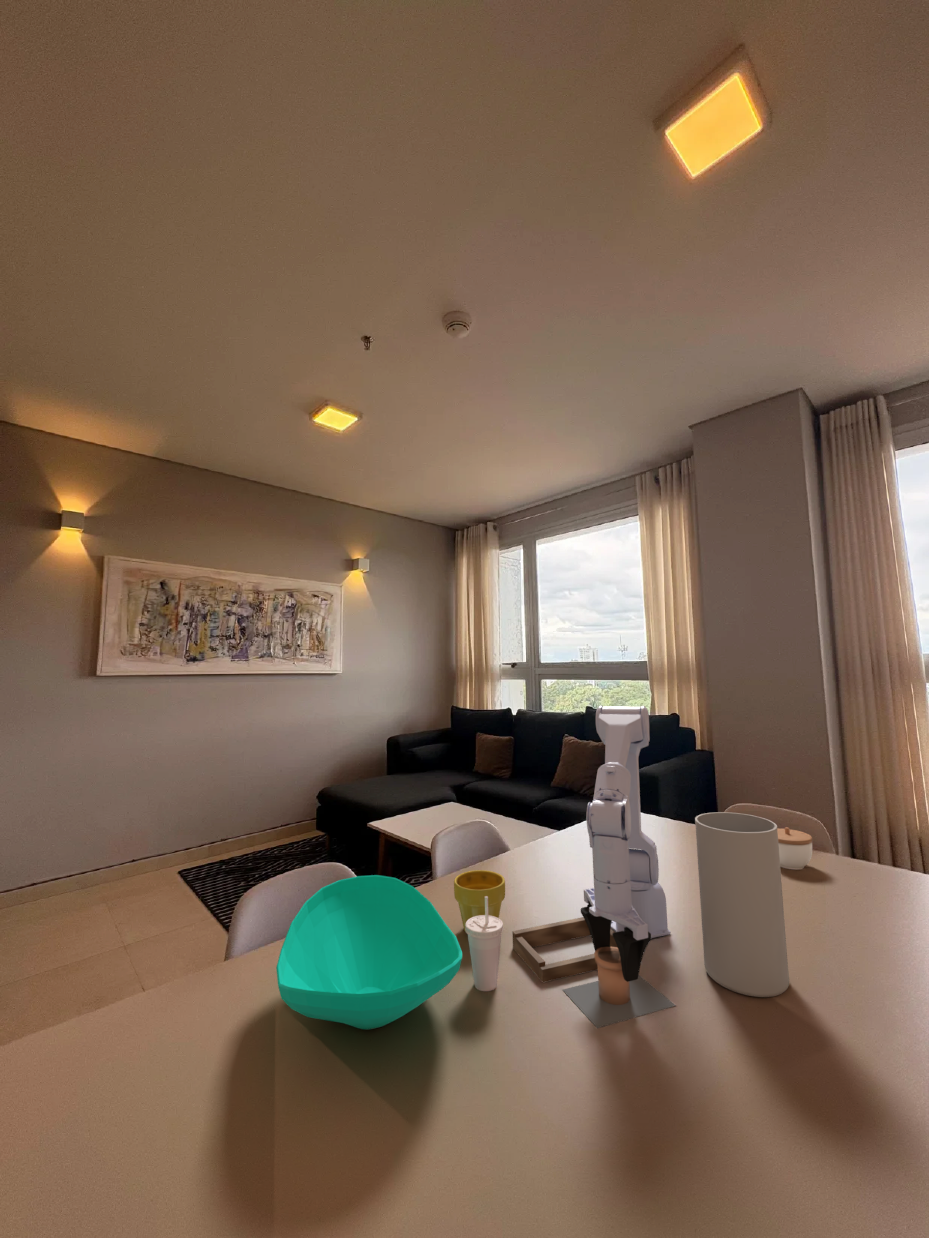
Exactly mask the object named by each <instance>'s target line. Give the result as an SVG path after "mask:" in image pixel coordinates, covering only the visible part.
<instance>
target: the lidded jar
mask: <svg viewBox="0 0 929 1238" xmlns="http://www.w3.org/2000/svg"><path fill="white" fill-rule="evenodd" d="M777 832H778V845H779V857H780V868H783V869H787V870H792V871H796V870H797V871H798V870H803V869H804V868H805V866H807V865H808V864H809V863H810V861H811V859H812V855H813V837H812V835H811V834H809V833H806V832H804V831H800V830H796V829H790V827H787V826H786V827H784V828H777Z"/></svg>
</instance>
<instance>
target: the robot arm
mask: <svg viewBox="0 0 929 1238" xmlns="http://www.w3.org/2000/svg"><path fill="white" fill-rule="evenodd" d="M595 728H596V733H597V734H598V736H599V738H600V740H601V742H602V743H603V745H605V746H604V747H605V751H604V752H605V753H604V764H602V765H600V766H599V767H598V769H597V771H596V772H597V773H596V779H595V784H594V791H593V792H594V794H593V798H592V802H591V801H589V802H588V803H587V807H586V818H585V820H586V827H587V828H586V829H587V833H588V837H589V838H588V839H589V847H590V848H591V850H592V851H591V852H592V853H591V854H592V870H593V871H592V874H593V887H591V888H585V889H583V901H584V903H586V904H587V905H586V906H584V907H583V906H582V907H581V908H580V914H581V917H584V919H585V921H586V923H587V926H588V928H589V931H590V934H591V935H590V938H591V941H592V945H593V948H594V952H595V951H596V950H597V949H599V948H601V947H610V929H611V930H613V931H614V932H615V933H613V937H614V939H615V942H616V944H617V947H618V950H619V954H620V959H621V966H622V973H623V977H624V980H626V981H627V982H629V981H633V980H637V979H638V975H640V970H641V965H642V960H643V957H644V953H645V952H646V949H647V947H648V946H649V944H650V941H652V939H655V938H659V937H662V936H668V935H671V930H670V929H669V927H668V924H669V923H668V912H667V909H668V908H667V897H666V893H665V891H664V889H663V887H662V885H661V884H660V883H659V875H660V874H659V873H660V872H659V870H660V869H659V856H658V851H657V850H658V849H657V845H656V843H655V841H654V840H653V839H652V838H650V837H649V836H648V835H646V834H645V833H644V832H643V830H642V815H641V813H642V812H641V796H640V795H641V793H640V792H641V790H640V789H641V788H640V771H639V770H640V767H639V756H640V752H641V750H642V749H643V748H646V747H649V745H650V743H649V742H650V739H651V738H650V717H649V710H648V708H647V707H646V706H645V705H641V706H628V705H627V706H625V705H624V706H616V705H615V706H612V705H611V706H609V705H608V706H603V705H599V706H598V707H597V708H596V712H595Z"/></svg>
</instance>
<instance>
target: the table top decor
mask: <svg viewBox="0 0 929 1238" xmlns="http://www.w3.org/2000/svg"><path fill="white" fill-rule="evenodd" d="M462 960H463V951H462V948H461V945H460V942H459V941H458V937H457V936H456V935H455V933H454V932H453V931H452V929H451V928H450V927H449V926H448V925H447V923H446V922H445V920H444V919H443V917H442V916H441V914H440V913H439V911H437V909H436V908H435V906H434V905H433V903H432V902H431V901H430V900H429V899H428V898H427V897H426V896H425V895H424V894H422V893H421V892H420V891H419V890H418V889H416V888H415V887H414V886H413V885H411V884H409V883H407V882H405V881H403V880H400V879H398V878H396V877H392V876H386V875H379V874H374V875H373V874H371V875H357V876H354V877H353V876H352V877H347V878H343V879H339V880H337V881H334V882H332V883H329V884H327V885H325V886H323V887H321V888H320V889H319V890H317V891H316V892H314V894H313V895H312V896H311V897H310V898H308V899H307V900H305V902H304V903H303V905H302V906H301V908H300V909H299V911H298V912H297V914H296V915H295V916H294V918H293V920H292V922H290V925H289V927H288V930H287V932H286V935H285V938H284V941H283V943H282V946H281V949H280V953H279V956H278V960H277V962H276V964H277V965H276V966H275V967H276V978H277V979H276V981H277V987H278V990H279V991H278V992H279V994H280V998H281V1000H282V1001H283V1002H284V1003H285V1004H286V1005H287V1006H288V1007H289V1008H290V1009H291V1010H292V1011H295V1012H297V1013H298V1014H300V1015H303V1016H305V1017H306V1018H310V1019H311V1018H312V1019H316V1020H321V1021H322V1020H323V1021H328V1022H333V1023H334V1022H335V1023H341V1024H345V1025H347V1026H351V1027H354V1028H357V1029H361V1030H373V1029H377V1028H381V1027H384V1026H386V1025H388V1024H391V1023H393V1022H394V1021H397V1020H398V1019H400V1018H401V1017H404V1016H405V1015H406V1014H408V1013H410V1012H411V1011H413V1010H414V1009H417V1008H418V1007H419V1006H420V1005H422V1004H424V1003H425V1002H427V1000H429V999H430V998H432V997H433V996H434V995H437V993H439V992H440V991H441V990H443V989H444V988H446V987H447V985H449V984H450V983H451V982H452V981H453V979H454V978H455V976H456V975H457V974H458V973H459V971H460V968H461V965H462Z"/></svg>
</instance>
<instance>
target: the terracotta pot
mask: <svg viewBox="0 0 929 1238" xmlns="http://www.w3.org/2000/svg"><path fill="white" fill-rule="evenodd" d="M593 954H594V957H595V962H596V963H597V966H598V969H597V981H598V988H599V996H600V998H601V999H602V1000H603V1001H605V1002H607V1003H609V1004H614V1005H622V1004H626V1003H627V1002H629V1000H630V984H629V982H627V981H626V980H624V977H623V973H622V966H621V959H620V954H619V950H618V948H617V947H601V948H599V949H597V950H596V951H595V950H594V953H593Z"/></svg>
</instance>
